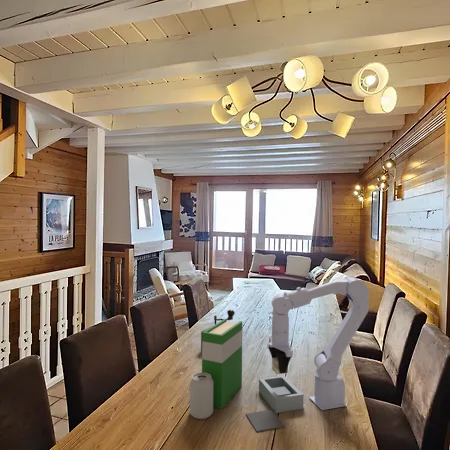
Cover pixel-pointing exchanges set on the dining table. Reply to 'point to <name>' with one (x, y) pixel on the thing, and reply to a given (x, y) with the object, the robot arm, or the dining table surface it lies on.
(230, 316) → the coffee grinder
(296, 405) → the slot box
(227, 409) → the dining table surface
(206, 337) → the hardback book
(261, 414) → the mat
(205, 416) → the can
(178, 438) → the dining table surface
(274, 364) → the block
